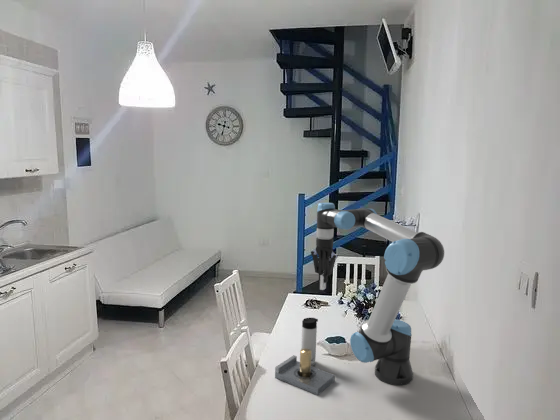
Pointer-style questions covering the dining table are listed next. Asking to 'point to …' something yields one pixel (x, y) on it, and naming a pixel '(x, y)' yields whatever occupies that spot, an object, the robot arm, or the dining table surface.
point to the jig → (313, 384)
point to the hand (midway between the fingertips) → (322, 288)
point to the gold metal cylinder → (305, 362)
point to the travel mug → (309, 336)
